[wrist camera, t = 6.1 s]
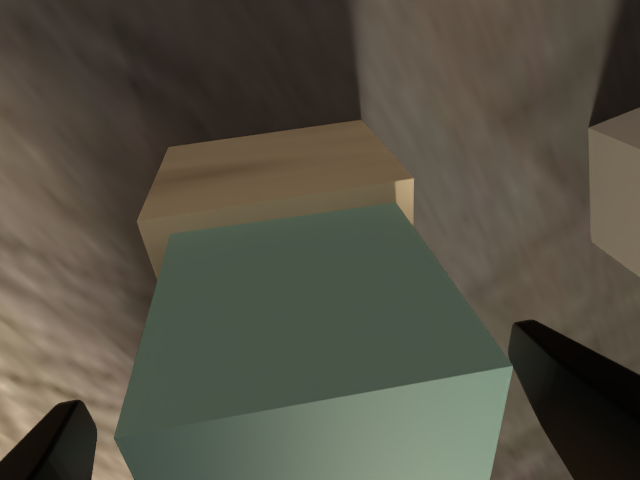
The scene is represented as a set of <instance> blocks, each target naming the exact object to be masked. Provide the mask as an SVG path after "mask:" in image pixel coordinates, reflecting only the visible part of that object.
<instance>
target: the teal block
mask: <svg viewBox="0 0 640 480" xmlns="http://www.w3.org/2000/svg"><path fill="white" fill-rule="evenodd" d="M512 369H513V365H512V364H511V362H510V361H509V359H508V358H507V357H506V355H505V354H504V352H503V351H502V350H501V348H500V347H499V345H498V344H497V343H496V341H495V340H494V338H493V337H492V336H491V334H490V333H489V332H488V330H487V329H486V327H485V326H484V325H483V323H482V322H481V320H480V319H479V318H478V316H477V315H476V313H475V312H474V311H473V309H472V308H471V306H470V305H469V304H468V302H467V301H466V299H465V298H464V297H463V295H462V294H461V292H460V291H459V290H458V288H457V287H456V285H455V284H454V283H453V281H452V280H451V278H450V277H449V276H448V274H447V273H446V271H445V270H444V269H443V267H442V266H441V265H440V263H439V262H438V260H437V259H436V258H435V256H434V255H433V253H432V252H431V251H430V249H429V248H428V246H427V245H426V244H425V242H424V241H423V239H422V238H421V237H420V235H419V234H418V232H417V231H416V230H415V228H414V227H413V225H412V224H411V223H410V221H409V220H408V218H407V217H406V216H405V214H404V213H403V211H402V210H401V209H400V207H399V206H398V204H397V203H389V204H382V205H374V206H367V207H360V208H353V209H346V210H338V211H331V212H324V213H317V214H310V215H303V216H295V217H288V218H281V219H274V220H267V221H259V222H252V223H245V224H238V225H231V226H223V227H216V228H209V229H202V230H195V231H187V232H180V233H173V234H170V237H169V241H168V244H167V248H166V251H165V255H164V259H163V262H162V266H161V270H160V273H159V277H158V280H157V284H156V288H155V291H154V295H153V298H152V302H151V306H150V309H149V313H148V316H147V320H146V324H145V327H144V331H143V334H142V338H141V342H140V345H139V349H138V352H137V356H136V360H135V363H134V367H133V370H132V374H131V378H130V381H129V385H128V389H127V392H126V396H125V399H124V403H123V407H122V410H121V414H120V417H119V421H118V425H117V428H116V432H115V435H114V439H115V441H116V443H117V445H118V447H119V449H120V452H121V454H122V456H123V458H124V460H125V462H126V464H127V466H128V468H129V470H130V472H131V474H132V476H133V478H134V480H490V476H491V471H492V466H493V461H494V456H495V452H496V447H497V442H498V437H499V432H500V427H501V422H502V418H503V413H504V408H505V403H506V398H507V393H508V389H509V384H510V379H511V374H512Z"/></svg>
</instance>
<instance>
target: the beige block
mask: <svg viewBox="0 0 640 480" xmlns="http://www.w3.org/2000/svg"><path fill="white" fill-rule="evenodd" d="M588 136H589V178H590V220H591V242H593V243H594V244H595V245H597V246H598V247H600V248H601V249H602V250H604V251H605V252H606V253H608V254H609V255H610V256H612V257H613V258H614V259H616V260H617V261H619V262H620V263H621V264H623V265H624V266H625V267H627V268H628V269H629V270H631V271H632V272H633V273H635V274H636V275H638V276H639V277H640V107H639V108H637V109H634V110H632V111H629V112H627V113H624V114H622V115H619V116H617V117H614V118H612V119H609V120H607V121H604V122H602V123H599V124H596V125H594V126H591V127H589V128H588Z"/></svg>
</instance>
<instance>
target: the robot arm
mask: <svg viewBox="0 0 640 480" xmlns="http://www.w3.org/2000/svg"><path fill="white" fill-rule="evenodd" d="M508 357H509V360H510V362H511V364H512V365H513V369H514V371H515V373H516V375H517V377H518V379H519V381H520V383H521V385H522V387H523V389H524V391H525V394H526V396H527V398H528V400H529V402H530V404H531V406H532V408H533V410H534V412H535V414H536V416H537V418H538V420H539V422H540V424H541V426H542V428H543V429H544V431H545V433H546V435H547V436H548V438H549V440H550V441H551V443H552V445H553V446H554V448H555V449H556V451H557V453H558V454H559V456H560V458H561V459H562V461H563V463H564V464H565V466H566V467H567V469H568V471H569V472H570V474H571V476H572V477H573V479H574V480H640V375H639V374H637V373H635V372H633V371H632V370H630V369H628V368H626V367H624V366H622V365H620V364H618V363H616V362H614V361H612V360H610V359H608V358H607V357H605V356H603V355H601V354H599V353H597V352H595V351H593V350H591V349H589V348H587V347H585V346H584V345H582V344H580V343H578V342H576V341H574V340H572V339H570V338H568V337H566V336H564V335H562V334H561V333H559V332H557V331H555V330H553V329H551V328H549V327H547V326H545V325H543V324H541V323H539V322H537V321H535V320H524V321H519V322H515V323H514V324H513V325H512V329H511V334H510V340H509V345H508ZM96 441H97V428H96V425H95V423H94V421H93V419H92V417H91V415H90V413H89V411H88V410H87V408H86V406H85V404H84V403H83V402H82V401H81V400H72V401H67V402H61V403H59V404H57V405H56V406H55V407H53V408H52V409H51V410H50V411H49V412H48V414H47V415H46V416H45V417H44V418H43V419H42V420H41V421H40V422H39V423H38V424H37V425H36V426H35V427H34V428H33V429H32V430H31V431H30V432H29V433H28V434H27V435H26V436H25V437H24V438H23V439H22V440H21V441H20V442H19V443H18V444H17V445H16V446H15V447H14V448H13V449H12V450H11V451H10V452H9V453H8V454H7V455H6V456H5V457H4V458H3V459H2V460H1V461H0V480H91V478H92V470H93V463H94V456H95V449H96Z"/></svg>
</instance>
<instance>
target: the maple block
mask: <svg viewBox="0 0 640 480" xmlns="http://www.w3.org/2000/svg"><path fill="white" fill-rule="evenodd" d="M389 203H397V204H398V206H399V207H400V209H401V210H402V211H403V213H404V214H405V216H406V217H407V218H408V220H409V221H410V223H411V224H412V225H413V208H414V178H413V177H412V176H411V175H410V173H409V172H408V171H407V170H406V169H405V168H404V167H403V166H402V165H401V163H400V162H399V161H398V160H397V159H396V158H395V157H394V156H393V154H392V153H391V152H390V151H389V150H388V149H387V148H386V147H385V145H384V144H383V143H382V142H381V141H380V140H379V139H378V138H377V137H376V135H375V134H374V133H373V132H372V131H371V130H370V129H369V128H368V126H367V125H366V124H365V123H364V122H363V121H362V120H356V121H349V122H342V123H335V124H328V125H321V126H314V127H306V128H299V129H292V130H285V131H278V132H271V133H264V134H257V135H250V136H243V137H236V138H229V139H222V140H215V141H208V142H201V143H194V144H187V145H180V146H173V147H168V149H167V152H166V154H165V156H164V159H163V161H162V163H161V166H160V168H159V170H158V173H157V175H156V177H155V180H154V182H153V184H152V186H151V189H150V191H149V193H148V196H147V198H146V200H145V203H144V205H143V207H142V210H141V212H140V214H139V217H138V219H137V221H136V222H137V225H138V227H139V230H140V233H141V236H142V239H143V242H144V244H145V247H146V250H147V253H148V256H149V259H150V261H151V264H152V267H153V270H154V273H155V276H156V279H157V280H158V277H159V273H160V270H161V266H162V262H163V259H164V255H165V251H166V248H167V244H168V241H169V237H170V234H173V233H180V232H187V231H195V230H202V229H209V228H216V227H223V226H231V225H238V224H245V223H252V222H259V221H267V220H274V219H281V218H288V217H295V216H303V215H310V214H317V213H324V212H331V211H338V210H346V209H353V208H360V207H367V206H374V205H382V204H389Z"/></svg>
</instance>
